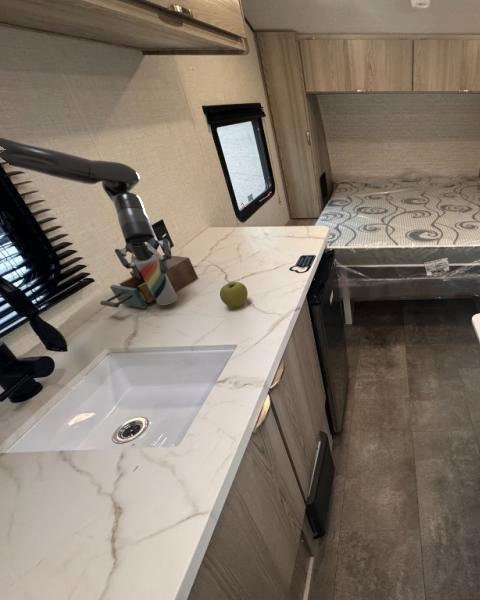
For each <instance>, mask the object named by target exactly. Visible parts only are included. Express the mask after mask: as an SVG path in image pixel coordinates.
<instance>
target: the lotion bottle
mask: <svg viewBox="0 0 480 600" xmlns="http://www.w3.org/2000/svg"><path fill="white" fill-rule="evenodd" d="M131 250H132V251H133V253H134V255H135V257H136V258H137V260H135V265H136V266H137V268H138V270H139V272H140V273H141V275H142V277H143V279H144V280H145V282H146V284H147V286H148V287H149V289H150V291H151V293H152V294H153V296H154V298H155V300H154V301H155V302H156V303H157V304H158V305H159V306H166V305H170V304H172V303H174V302H176V301H177V300H178V295H177V292H176V293H175V291H174V289H173V287H172V285H171V283H170V281H169V279H168V277H167V276H166V274H164V273H163V272H162V269H161V266H160V263H159V260H158V258H157V257H156V256H155V255H151V253H150V251H149V249H148V247H147V245H146V244H145V243H136V244H132V245H131Z"/></svg>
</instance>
